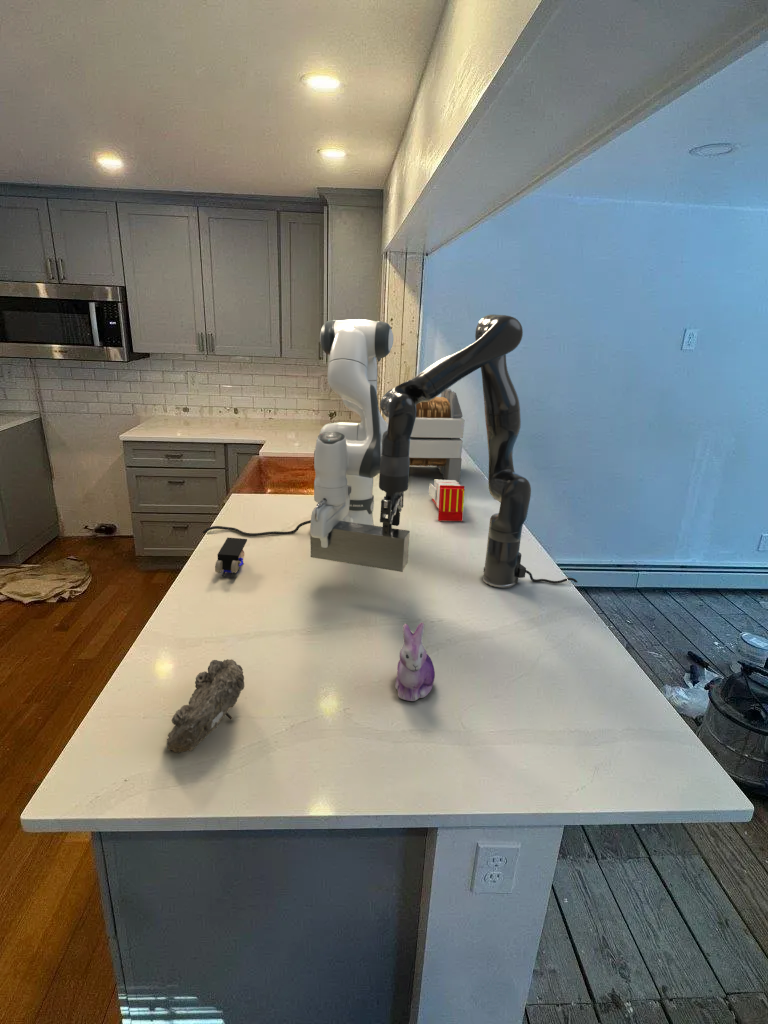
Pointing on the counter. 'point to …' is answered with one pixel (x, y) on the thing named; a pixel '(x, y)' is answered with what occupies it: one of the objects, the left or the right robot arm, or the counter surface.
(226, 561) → the figurine character
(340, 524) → the box
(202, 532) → the left robot arm
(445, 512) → the toy
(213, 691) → the fossil
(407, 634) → the figurine
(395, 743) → the counter surface
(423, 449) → the transformer
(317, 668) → the counter surface
